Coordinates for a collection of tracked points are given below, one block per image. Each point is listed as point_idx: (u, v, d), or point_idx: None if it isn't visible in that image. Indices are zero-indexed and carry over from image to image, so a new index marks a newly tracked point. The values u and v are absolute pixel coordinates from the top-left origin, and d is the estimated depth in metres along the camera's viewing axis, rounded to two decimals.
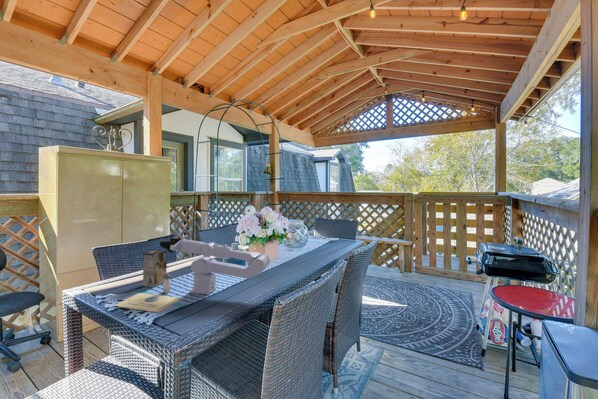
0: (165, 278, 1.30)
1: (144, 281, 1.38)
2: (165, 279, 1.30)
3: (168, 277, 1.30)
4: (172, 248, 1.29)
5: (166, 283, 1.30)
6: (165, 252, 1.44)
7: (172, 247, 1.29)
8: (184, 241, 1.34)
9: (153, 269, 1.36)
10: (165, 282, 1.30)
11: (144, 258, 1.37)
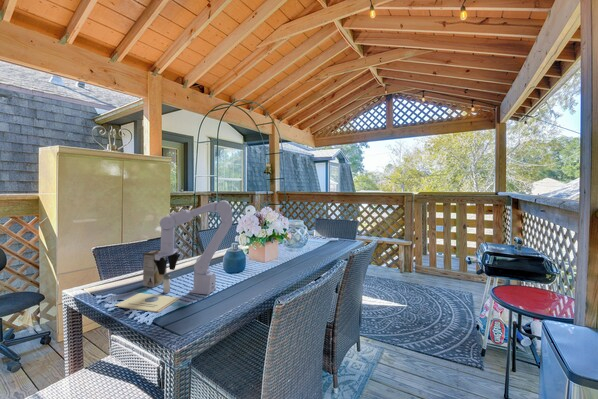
0: (165, 278, 1.30)
1: (144, 281, 1.38)
2: (165, 279, 1.30)
3: (168, 277, 1.30)
4: (157, 257, 1.24)
5: (166, 283, 1.30)
6: None
7: (156, 257, 1.24)
8: None
9: (153, 269, 1.36)
10: (165, 282, 1.30)
11: (144, 258, 1.37)
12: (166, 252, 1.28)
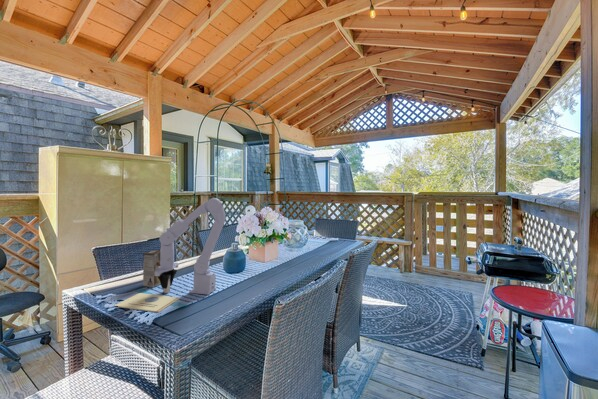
0: None
1: (144, 281, 1.38)
2: None
3: None
4: (156, 273, 1.24)
5: None
6: None
7: (155, 273, 1.24)
8: (160, 264, 1.30)
9: (153, 268, 1.36)
10: None
11: (144, 258, 1.37)
12: (166, 267, 1.28)
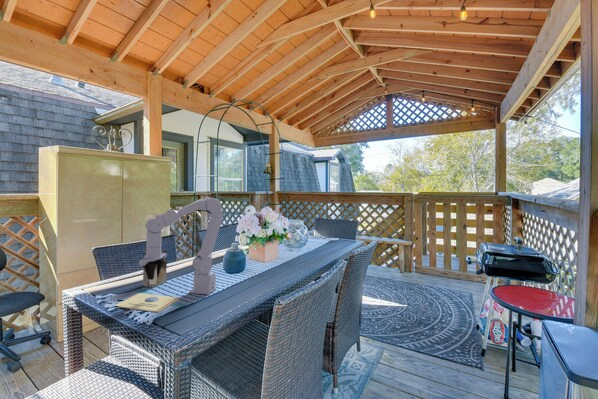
0: None
1: (144, 281, 1.38)
2: None
3: None
4: (141, 262, 1.15)
5: None
6: (165, 252, 1.44)
7: (140, 262, 1.15)
8: (146, 253, 1.21)
9: None
10: None
11: None
12: (152, 257, 1.19)
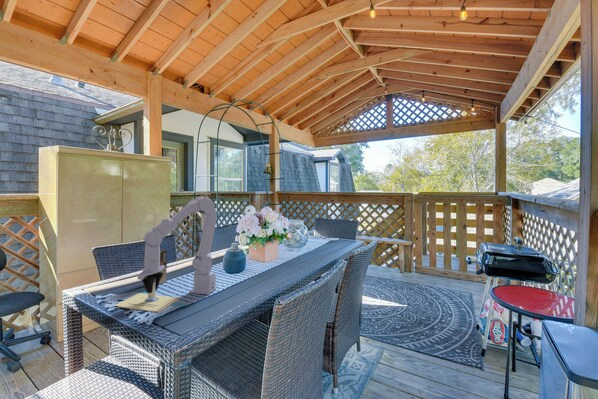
0: None
1: None
2: None
3: None
4: (140, 276, 1.14)
5: None
6: (165, 252, 1.44)
7: (139, 276, 1.14)
8: None
9: None
10: None
11: (144, 258, 1.37)
12: (150, 270, 1.19)
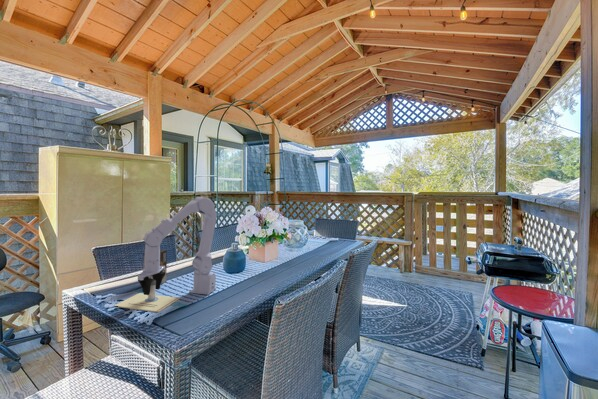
0: None
1: None
2: None
3: (153, 283, 1.21)
4: (140, 277, 1.14)
5: (151, 289, 1.20)
6: (165, 252, 1.44)
7: (139, 277, 1.14)
8: None
9: None
10: (150, 288, 1.20)
11: (144, 258, 1.37)
12: (150, 271, 1.19)
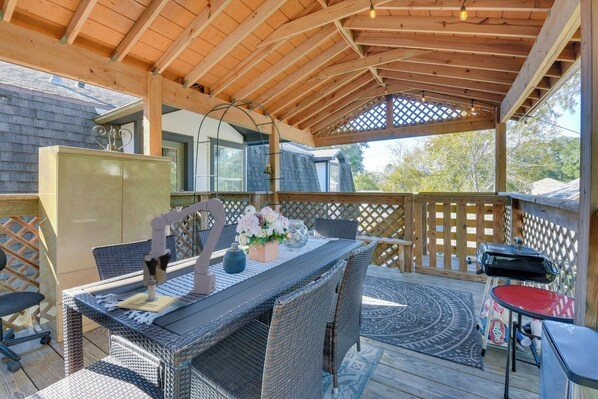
0: (150, 284, 1.20)
1: (144, 281, 1.38)
2: (150, 285, 1.20)
3: (153, 283, 1.21)
4: (147, 257, 1.22)
5: (151, 289, 1.20)
6: None
7: (146, 257, 1.22)
8: None
9: None
10: (150, 288, 1.20)
11: (144, 258, 1.37)
12: (157, 252, 1.27)
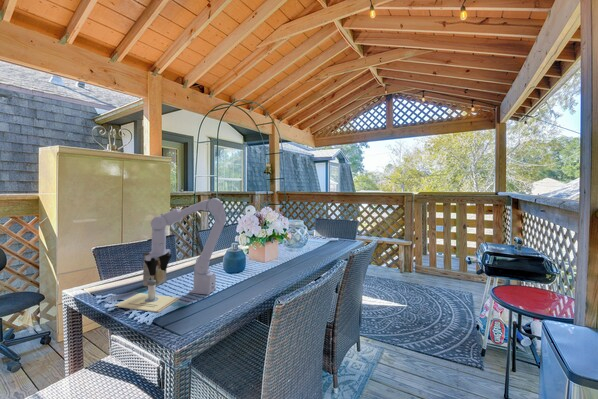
0: (150, 284, 1.20)
1: (144, 281, 1.38)
2: (150, 285, 1.20)
3: (153, 283, 1.21)
4: (147, 257, 1.22)
5: (151, 289, 1.20)
6: None
7: (146, 257, 1.22)
8: None
9: None
10: (150, 288, 1.20)
11: (144, 258, 1.37)
12: (157, 252, 1.27)
